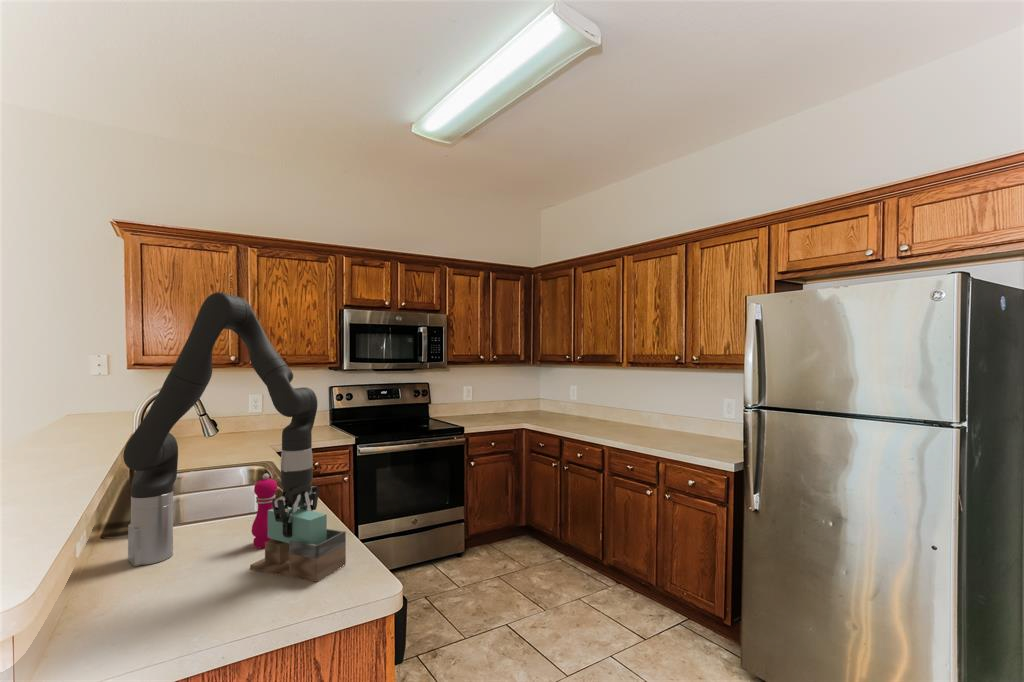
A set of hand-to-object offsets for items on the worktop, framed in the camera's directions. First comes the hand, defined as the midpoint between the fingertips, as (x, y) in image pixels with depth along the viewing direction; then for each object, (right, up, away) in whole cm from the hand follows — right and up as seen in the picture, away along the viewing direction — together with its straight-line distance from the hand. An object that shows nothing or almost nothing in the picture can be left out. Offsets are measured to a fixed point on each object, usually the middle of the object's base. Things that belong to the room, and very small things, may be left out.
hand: (296, 532), depth 130 cm
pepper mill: (-15, -9, +15) cm, 23 cm away
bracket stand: (0, -9, 0) cm, 9 cm away
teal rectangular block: (0, -2, 0) cm, 2 cm away
